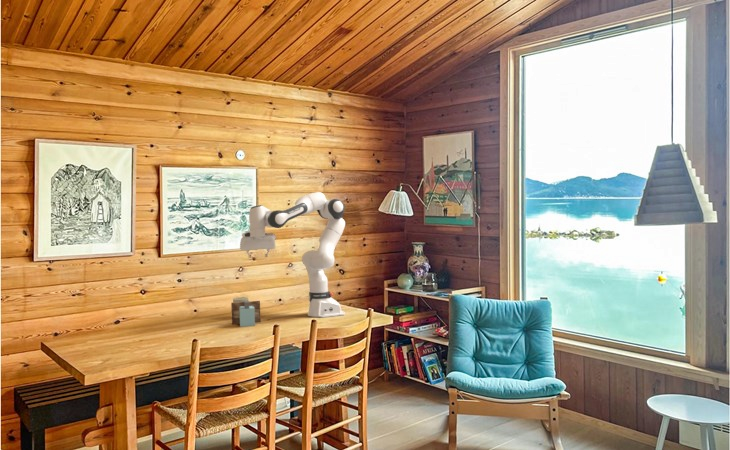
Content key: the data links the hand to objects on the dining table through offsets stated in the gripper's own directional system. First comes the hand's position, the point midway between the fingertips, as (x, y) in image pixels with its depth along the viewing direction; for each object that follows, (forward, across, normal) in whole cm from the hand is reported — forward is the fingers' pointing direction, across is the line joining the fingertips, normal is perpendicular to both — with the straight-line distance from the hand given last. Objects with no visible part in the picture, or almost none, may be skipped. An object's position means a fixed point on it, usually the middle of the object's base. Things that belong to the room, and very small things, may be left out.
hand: (258, 257), depth 338 cm
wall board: (+37, +8, +4) cm, 38 cm away
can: (+37, +10, -16) cm, 42 cm away
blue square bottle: (+37, +8, +9) cm, 39 cm away
